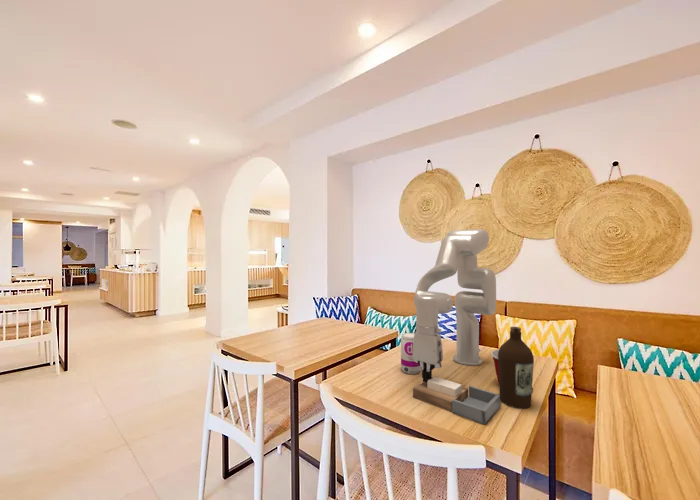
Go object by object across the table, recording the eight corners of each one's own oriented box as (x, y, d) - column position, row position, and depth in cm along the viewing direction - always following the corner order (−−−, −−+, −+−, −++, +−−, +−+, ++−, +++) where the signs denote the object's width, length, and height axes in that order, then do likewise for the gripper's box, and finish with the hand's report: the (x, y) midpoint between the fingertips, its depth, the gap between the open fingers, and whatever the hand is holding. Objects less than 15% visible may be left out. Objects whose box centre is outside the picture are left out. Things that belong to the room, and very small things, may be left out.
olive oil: (490, 396, 110) (491, 324, 110) (515, 392, 113) (516, 322, 113) (514, 411, 100) (514, 333, 99) (541, 407, 103) (541, 330, 102)
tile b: (447, 387, 110) (447, 380, 110) (461, 392, 107) (461, 384, 107) (441, 392, 107) (441, 384, 107) (455, 397, 103) (455, 389, 103)
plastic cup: (486, 385, 118) (486, 354, 118) (496, 376, 126) (496, 347, 126) (518, 395, 111) (518, 361, 111) (526, 385, 119) (526, 353, 119)
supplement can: (421, 375, 128) (421, 338, 128) (400, 373, 130) (400, 337, 129) (420, 367, 136) (420, 333, 136) (401, 366, 138) (401, 332, 137)
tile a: (434, 383, 114) (434, 376, 114) (447, 387, 110) (447, 380, 110) (427, 387, 110) (427, 380, 110) (440, 392, 107) (440, 385, 107)
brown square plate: (431, 385, 119) (431, 377, 119) (468, 397, 110) (468, 388, 110) (413, 397, 110) (413, 388, 110) (451, 411, 100) (451, 402, 100)
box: (470, 397, 110) (470, 385, 110) (500, 406, 103) (500, 394, 103) (452, 412, 99) (452, 400, 99) (484, 425, 93) (484, 411, 93)
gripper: (451, 331, 110) (451, 383, 111) (414, 324, 121) (414, 372, 121) (441, 336, 105) (441, 391, 105) (403, 328, 115) (403, 378, 115)
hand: (426, 380), depth 113 cm, fingers closed
